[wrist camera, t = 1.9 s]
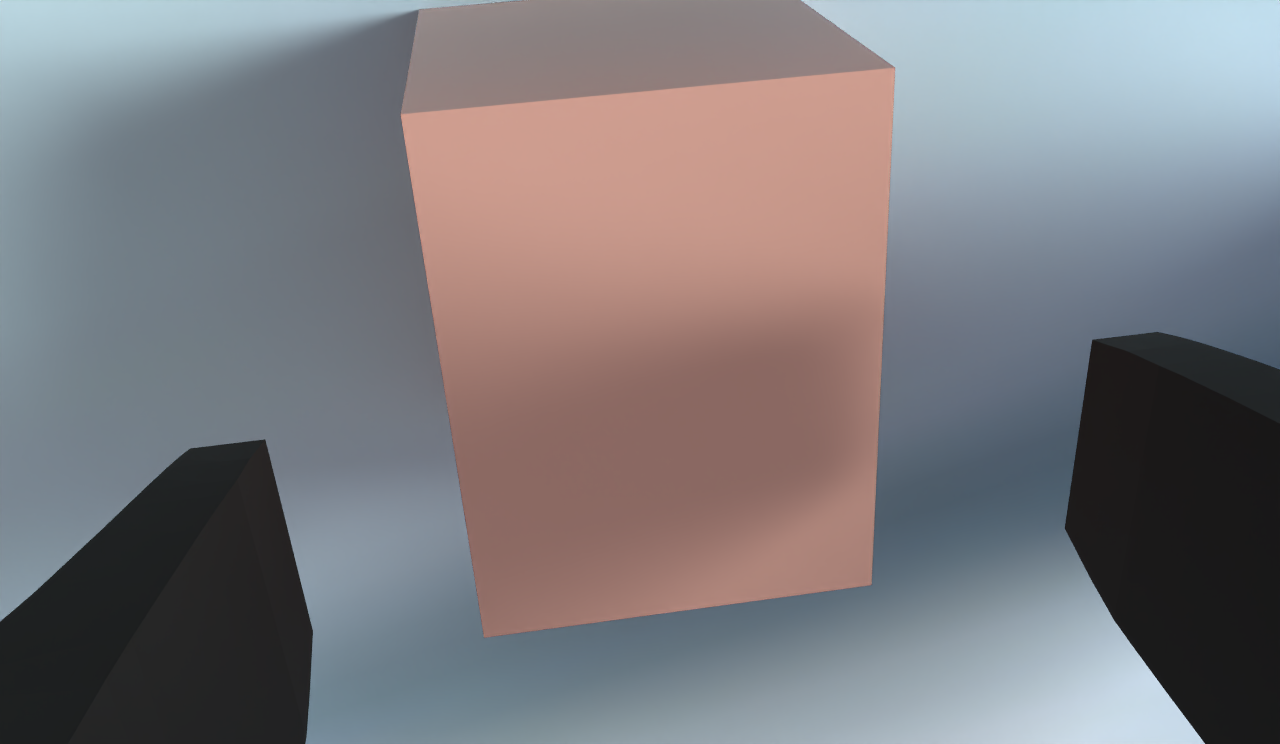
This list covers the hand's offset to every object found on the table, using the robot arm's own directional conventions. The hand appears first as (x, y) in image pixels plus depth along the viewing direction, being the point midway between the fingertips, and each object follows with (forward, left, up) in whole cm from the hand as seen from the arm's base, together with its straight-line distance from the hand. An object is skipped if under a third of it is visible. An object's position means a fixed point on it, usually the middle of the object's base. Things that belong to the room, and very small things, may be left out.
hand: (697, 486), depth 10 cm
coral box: (0, 0, -7) cm, 7 cm away
